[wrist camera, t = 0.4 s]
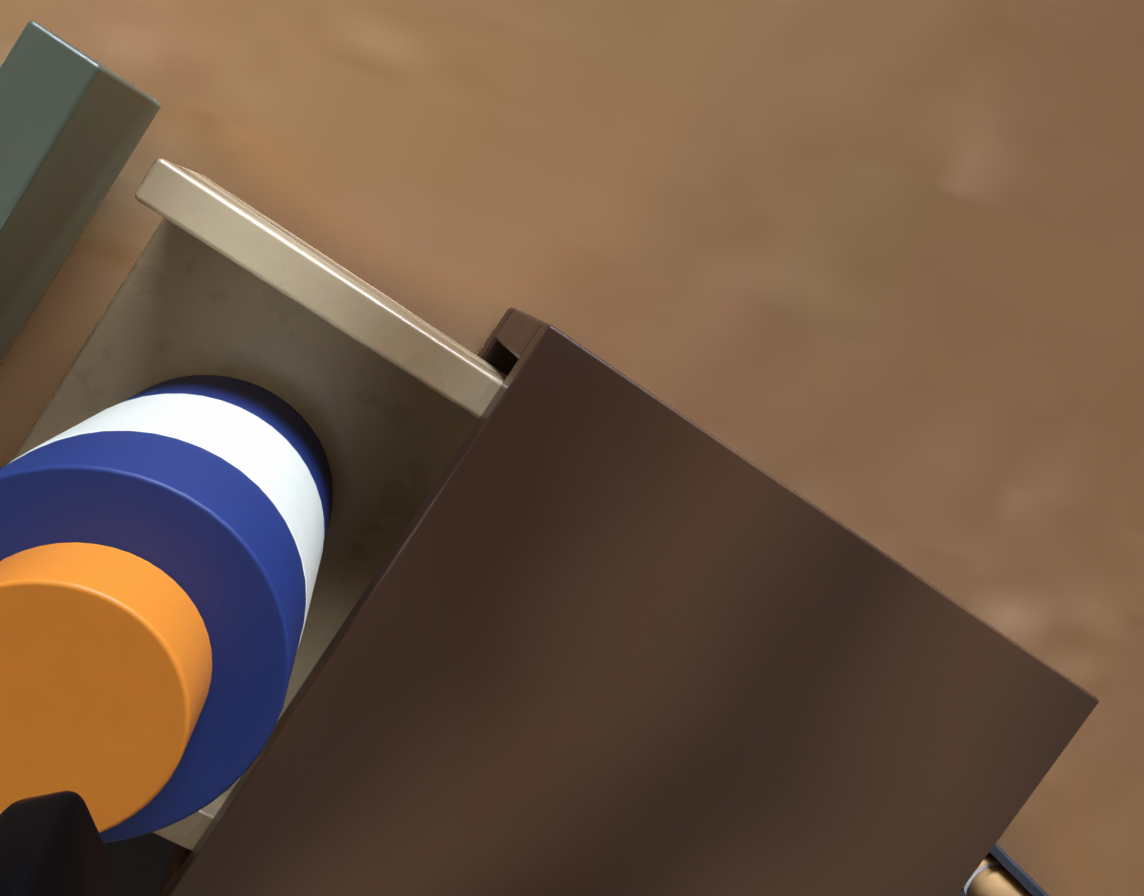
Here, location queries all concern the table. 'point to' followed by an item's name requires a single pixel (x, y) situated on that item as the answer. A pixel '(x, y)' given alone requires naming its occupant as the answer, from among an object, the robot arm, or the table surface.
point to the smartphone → (139, 863)
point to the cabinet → (634, 684)
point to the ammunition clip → (1000, 878)
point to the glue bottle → (155, 598)
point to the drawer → (226, 322)
